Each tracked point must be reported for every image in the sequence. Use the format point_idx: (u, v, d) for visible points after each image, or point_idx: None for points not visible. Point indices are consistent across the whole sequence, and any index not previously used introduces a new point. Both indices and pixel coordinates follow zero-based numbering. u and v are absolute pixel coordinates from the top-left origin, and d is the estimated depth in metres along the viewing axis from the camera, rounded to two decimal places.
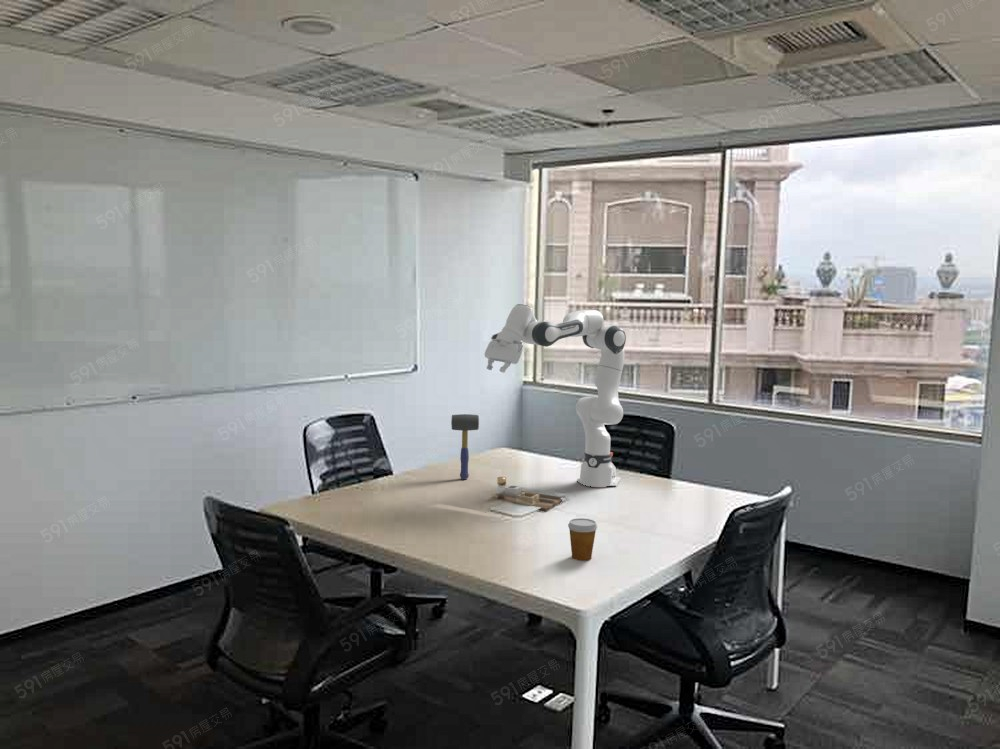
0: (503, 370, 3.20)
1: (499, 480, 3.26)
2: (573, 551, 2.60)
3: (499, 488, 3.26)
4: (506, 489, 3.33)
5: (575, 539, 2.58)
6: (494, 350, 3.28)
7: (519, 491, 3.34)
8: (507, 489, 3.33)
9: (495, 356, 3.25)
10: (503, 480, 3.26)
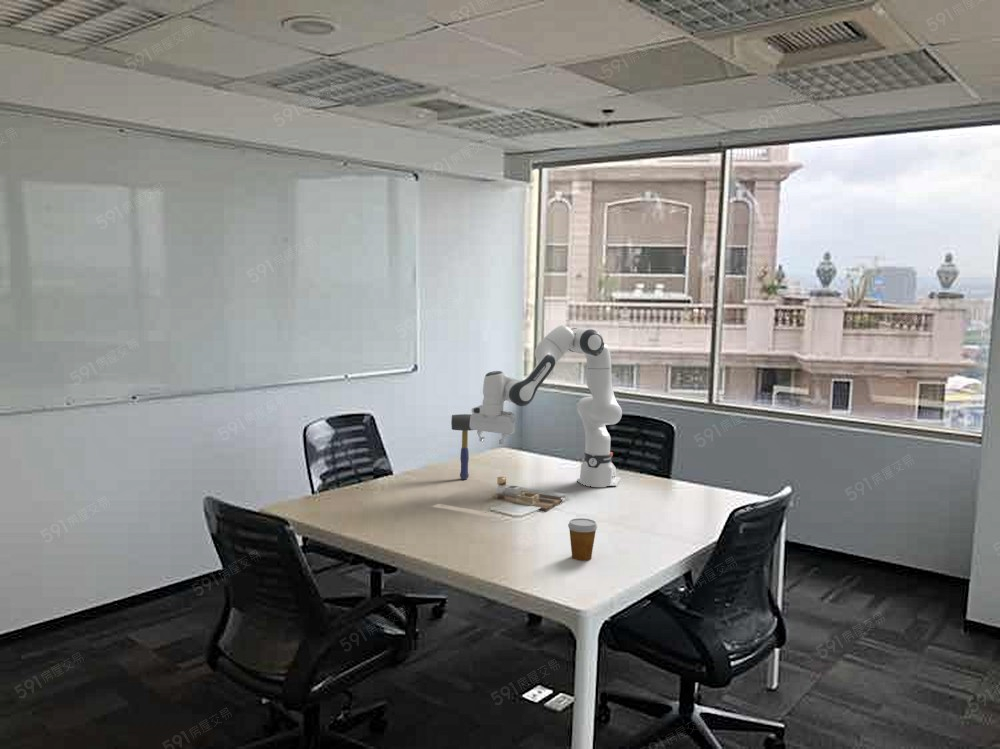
0: (503, 442, 3.34)
1: (499, 480, 3.26)
2: (573, 551, 2.60)
3: (499, 488, 3.26)
4: (506, 489, 3.33)
5: (575, 539, 2.58)
6: (481, 423, 3.36)
7: (519, 491, 3.34)
8: (507, 489, 3.33)
9: (487, 430, 3.35)
10: (503, 480, 3.26)
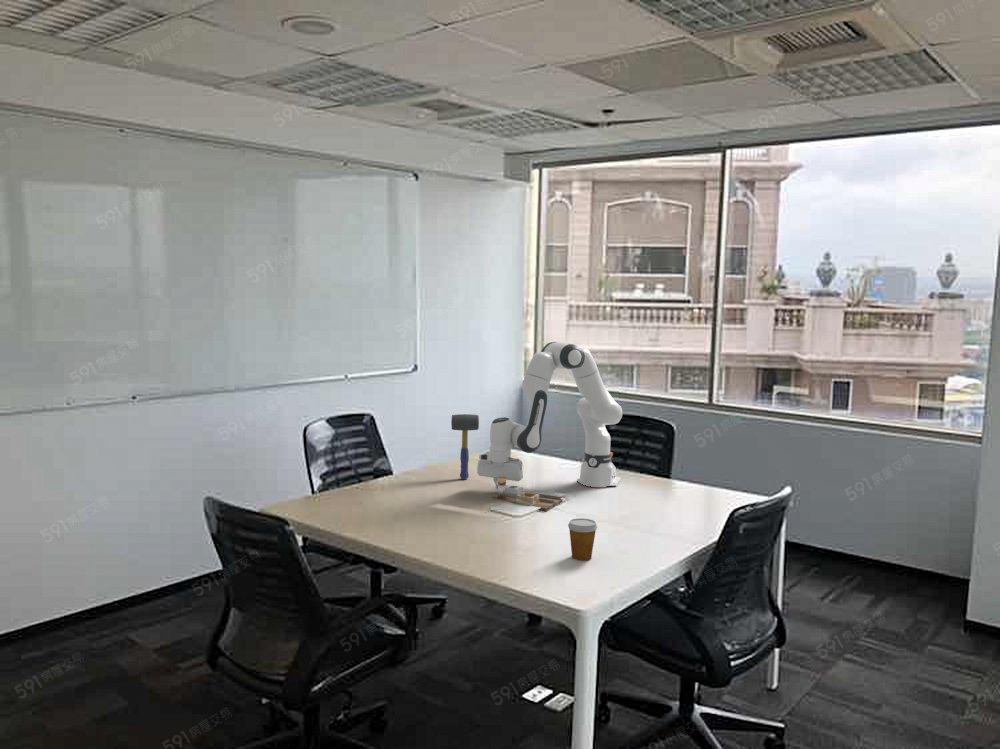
0: None
1: (499, 480, 3.26)
2: (573, 551, 2.60)
3: (499, 488, 3.26)
4: (507, 489, 3.33)
5: (575, 539, 2.58)
6: (489, 469, 3.37)
7: (520, 491, 3.34)
8: (508, 489, 3.33)
9: (494, 476, 3.36)
10: (503, 480, 3.26)
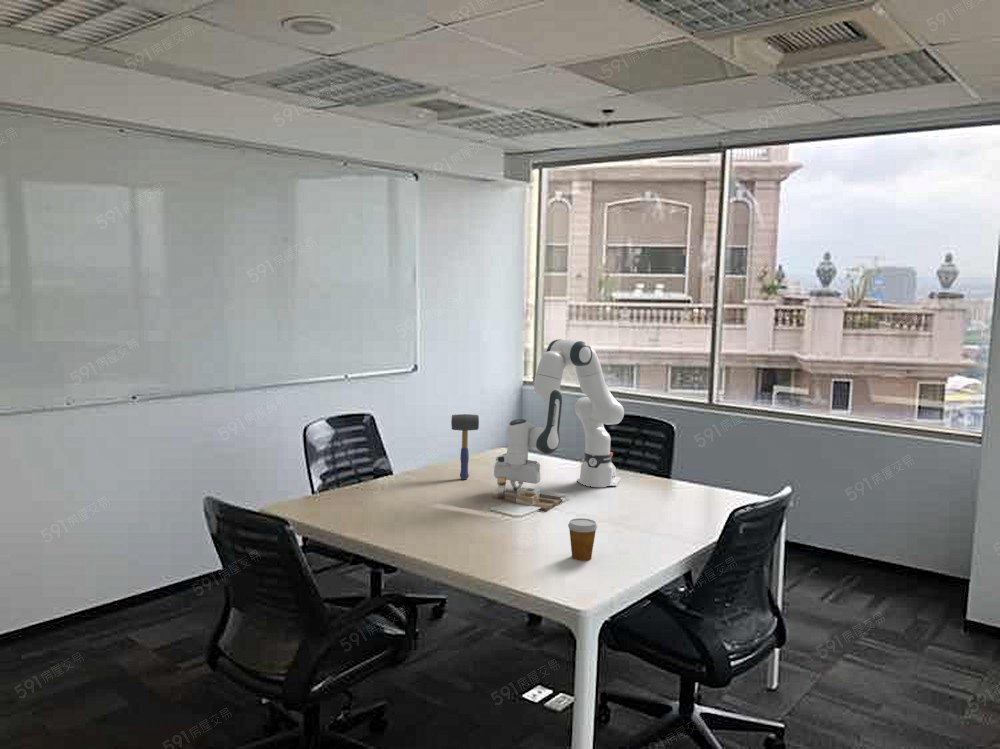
0: None
1: (499, 480, 3.26)
2: (573, 551, 2.60)
3: (499, 488, 3.26)
4: None
5: (575, 539, 2.58)
6: (506, 471, 3.33)
7: None
8: None
9: (511, 478, 3.32)
10: (503, 480, 3.26)
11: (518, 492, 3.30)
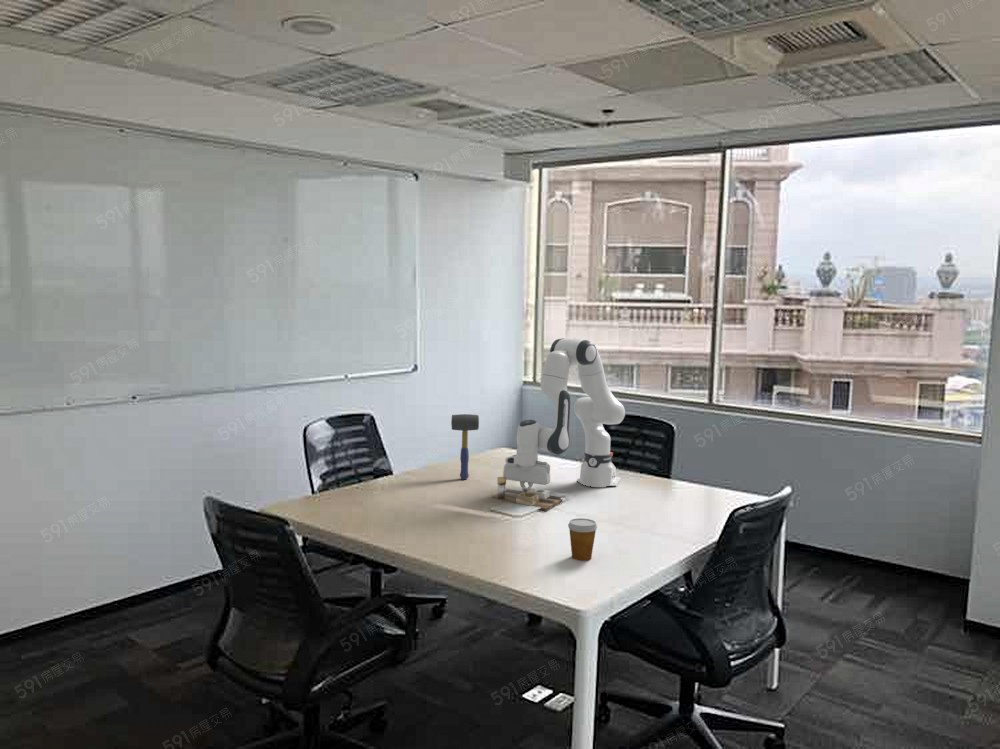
0: None
1: (499, 480, 3.26)
2: (573, 551, 2.60)
3: (499, 488, 3.26)
4: None
5: (575, 539, 2.58)
6: (515, 473, 3.31)
7: (547, 495, 3.28)
8: (535, 493, 3.27)
9: (521, 480, 3.30)
10: (503, 480, 3.26)
11: None
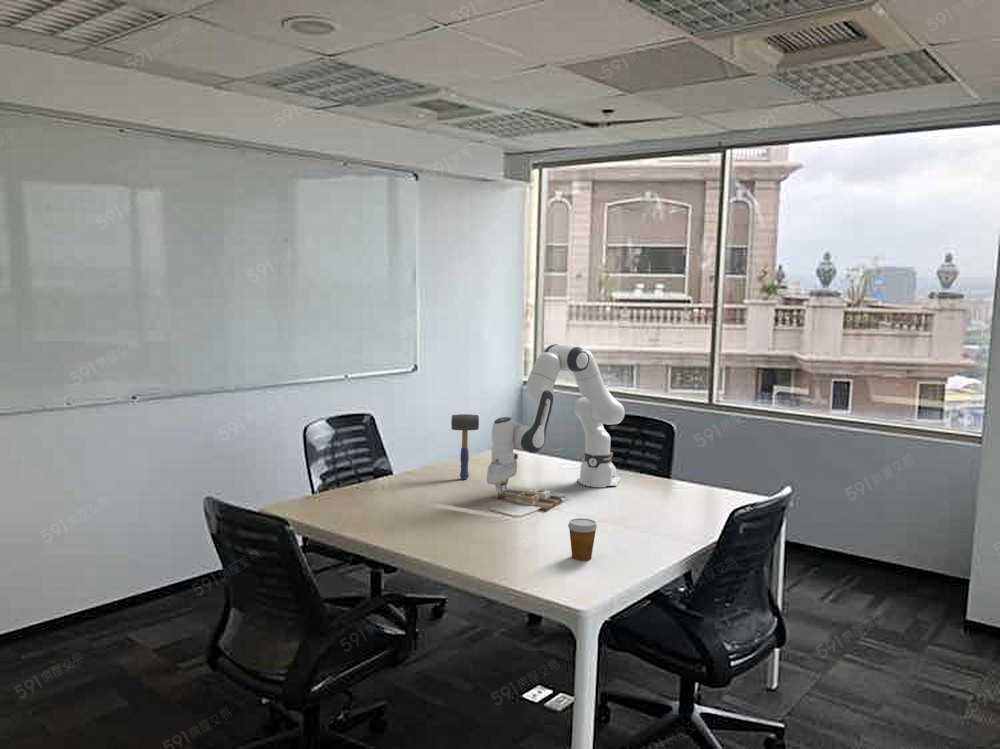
0: (498, 490, 3.25)
1: None
2: (573, 551, 2.60)
3: None
4: (535, 493, 3.27)
5: (575, 539, 2.58)
6: None
7: (548, 495, 3.28)
8: (536, 493, 3.27)
9: None
10: None
11: None
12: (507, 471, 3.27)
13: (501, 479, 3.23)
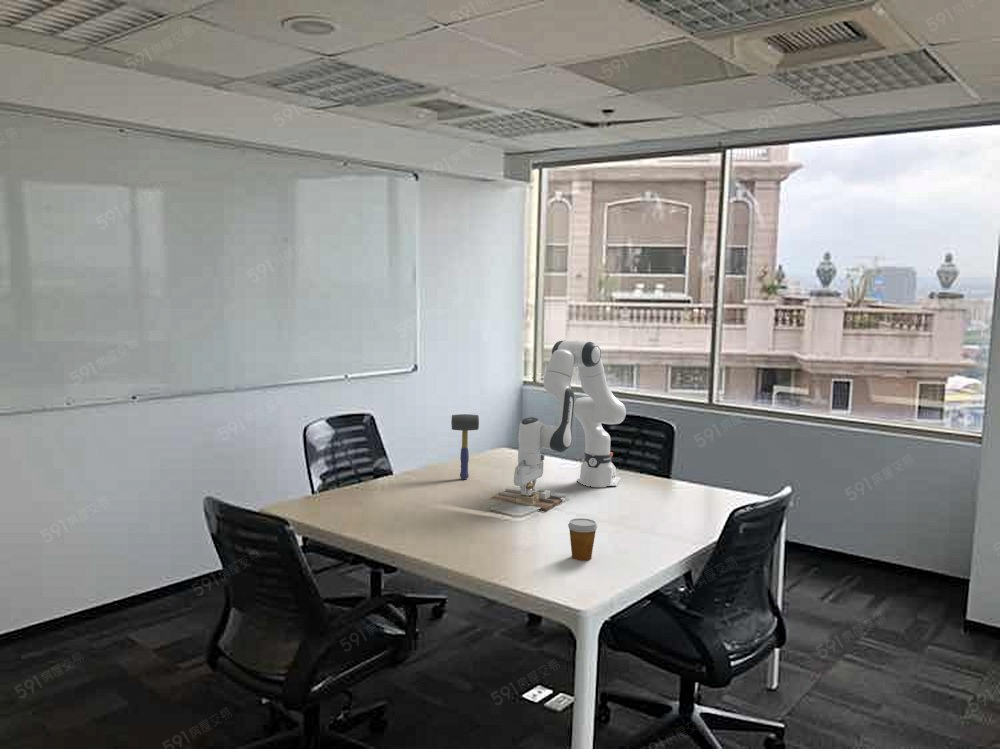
0: (523, 492, 3.18)
1: None
2: (573, 551, 2.60)
3: None
4: (535, 493, 3.27)
5: (575, 539, 2.58)
6: None
7: (548, 495, 3.28)
8: (536, 493, 3.27)
9: None
10: (530, 483, 3.20)
11: None
12: (533, 472, 3.21)
13: (528, 480, 3.17)
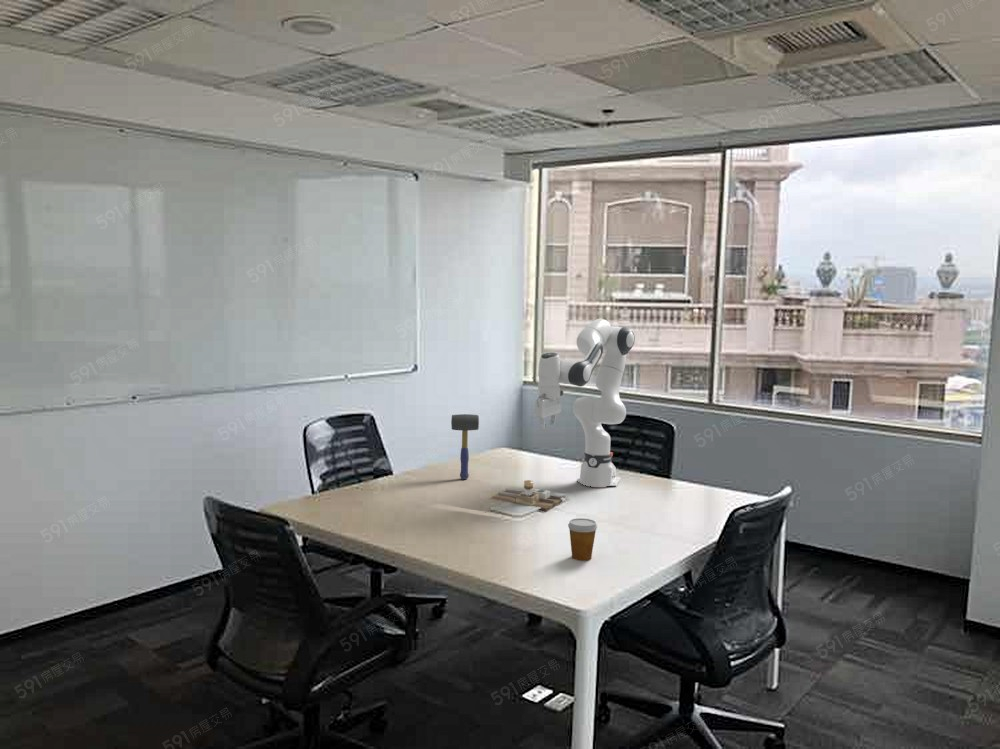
0: (542, 426, 3.23)
1: (526, 484, 3.20)
2: (573, 551, 2.60)
3: (526, 492, 3.21)
4: (535, 493, 3.27)
5: (575, 539, 2.58)
6: None
7: (548, 495, 3.28)
8: (536, 493, 3.27)
9: None
10: (530, 484, 3.20)
11: None
12: (553, 407, 3.27)
13: (548, 414, 3.23)
